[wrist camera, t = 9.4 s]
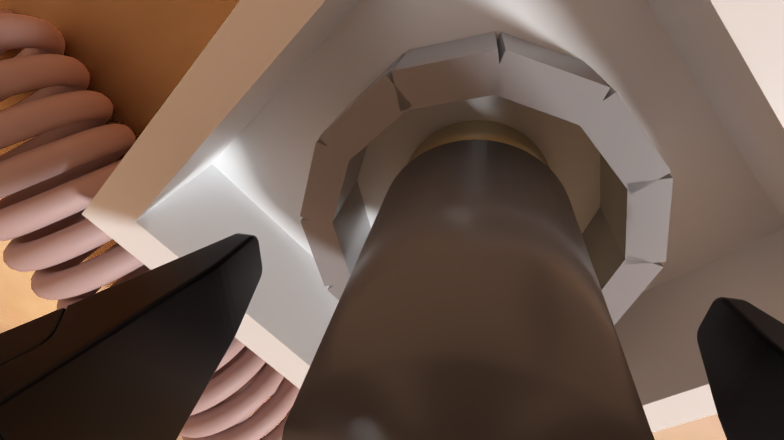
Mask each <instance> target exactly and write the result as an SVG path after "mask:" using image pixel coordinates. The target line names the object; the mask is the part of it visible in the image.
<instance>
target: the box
mask: <svg viewBox="0 0 784 440" xmlns="http://www.w3.org/2000/svg"><path fill="white" fill-rule="evenodd" d="M471 120H486V121H492V122H498V123H501V124H504V125H507V126H510V127H512V128H514V129H516V130H518V131H519V132H521V133H523V134H524V135H526V136H527V137H528V138H529V139H530V140H532V141H533V142H534V143H535V145H536V146H537V147H538V148H539V149H540V151H541V152H542V154H543V155H544V157H545V159H546V161H547V163H548V166H549V168H550V169H551V170H552V172H553V173H554V174H555V175H556V176H557V177H558V179H559V180H560V182H561V183H562V185H563V186H564V188H565V191H566V193H567V195H568V197H569V200H570V203H571V205H572V208H573V211H574V214H575V217H576V219H577V222H578V225H579V228H580V231H581V234H582V236H583V239H584V242H585V245H586V248H587V251H588V253H589V256H590V259H591V262H592V265H593V268H594V270H595V273H596V276H597V279H598V282H599V285H600V287H601V290H602V293H603V296H604V299H605V301H606V304H607V307H608V310H609V313H610V316H611V318H612V321H613V324H614V327H615V330H616V333H617V335H618V338H619V341H620V344H621V347H622V350H623V352H624V355H625V358H626V361H627V364H628V366H629V369H630V372H631V375H632V378H633V381H634V383H635V386H636V389H637V392H638V395H639V398H640V400H641V403H642V406H643V409H644V412H645V415H646V417H647V420H648V423H649V426H650V429H651V432H652V433H653V432H657V431H660V430H664V429H667V428H670V427H674V426H677V425H681V424H684V423H687V422H691V421H694V420H698V419H701V418H704V417H708V416H711V415H714V414H718V413H717V410H716V407H715V404H714V400H713V397H712V393H711V389H710V386H709V382H708V378H707V375H706V371H705V368H704V364H703V360H702V357H701V353H700V349H699V346H698V342H697V331H698V328H699V326H700V324H701V322H702V321H703V319H704V317H705V315H706V313H707V311H708V310H709V308H710V306H711V304H712V302H713V301H714V300H715V299H716V298H719V297H727V298H735V299H742V300H745V301H747V302H749V303H751V304H752V305H754V306H755V307H757V308H759V309H760V310H762V311H764V312H765V313H767V314H769V315H770V316H772V317H773V318H775V319H777V320H778V321H780V322H782V323H783V324H784V0H240V1H239V2H238V4H237V5H236V6H235V8H234V9H233V10H232V12H231V13H230V14H229V16H228V17H227V18H226V20H225V21H224V22H223V24H222V25H221V26H220V28H219V29H218V31H217V32H216V33H215V35H214V36H213V37H212V39H211V40H210V41H209V43H208V44H207V45H206V47H205V48H204V49H203V51H202V52H201V54H200V55H199V56H198V58H197V59H196V60H195V62H194V63H193V64H192V66H191V67H190V68H189V70H188V71H187V72H186V74H185V75H184V76H183V78H182V79H181V81H180V82H179V83H178V85H177V86H176V87H175V89H174V90H173V91H172V93H171V94H170V95H169V97H168V98H167V99H166V101H165V102H164V104H163V105H162V106H161V108H160V109H159V110H158V112H157V113H156V114H155V116H154V117H153V118H152V120H151V121H150V122H149V124H148V125H147V126H146V128H145V129H144V131H143V132H142V133H141V135H140V136H139V137H138V139H137V140H136V141H135V143H134V144H133V145H132V147H131V148H130V149H129V151H128V152H127V154H126V155H125V156H124V158H123V159H122V160H121V162H120V163H119V164H118V166H117V167H116V168H115V170H114V171H113V172H112V174H111V175H110V176H109V178H108V179H107V181H106V182H105V183H104V185H103V186H102V187H101V189H100V190H99V191H98V193H97V194H96V195H95V197H94V198H93V199H92V201H91V202H90V204H89V205H88V206H87V208H86V209H85V210H84V212H83V213H82V215H83V216H84V217H86V218H87V219H88V220H89V221H91V222H92V223H93V224H94V225H96V226H97V227H98V228H99V229H101V230H102V231H103V232H104V233H106V234H107V235H108V236H109V237H111V238H112V239H113V240H114V241H116V242H117V243H118V244H119V245H121V246H122V247H123V248H124V249H126V250H127V251H128V252H129V253H131V254H132V255H133V256H134V257H136V258H137V259H138V260H139V261H141V262H142V263H143V264H144V265H145V266H147V267H148V268H149V269H150V270H152V269H154V268H157V267H159V266H161V265H164V264H166V263H168V262H171V261H173V260H175V259H178V258H180V257H182V256H185V255H187V254H189V253H192V252H194V251H196V250H199V249H201V248H203V247H206V246H208V245H210V244H213V243H215V242H217V241H220V240H222V239H224V238H227V237H229V236H231V235H234V234H236V233H242V234H249V235H254V236H256V237H257V239H258V241H259V247H260V254H261V260H262V275H261V278H260V281H259V283H258V285H257V287H256V290H255V292H254V294H253V297H252V299H251V301H250V304H249V306H248V308H247V311H246V313H245V315H244V318H243V320H242V322H241V325H240V327H239V329H238V331H237V333H236V335H235V338H236V339H238V340H239V341H240V342H241V343H243V344H244V345H245V346H246V347H248V348H249V349H250V350H251V351H253V352H254V353H255V354H256V355H258V356H259V357H260V358H261V359H263V360H264V361H265V362H266V363H268V364H269V365H270V366H271V367H273V368H274V369H275V370H276V371H278V372H279V373H280V374H281V375H283V376H284V377H285V378H286V379H288V380H289V381H290V382H291V383H293V384H294V385H295V386H296V387H298V388H299V389H300V388H301V386H302V383H303V381H304V379H305V377H306V374H307V372H308V370H309V368H310V365H311V363H312V361H313V359H314V356H315V354H316V352H317V350H318V347H319V345H320V343H321V341H322V338H323V336H324V334H325V331H326V329H327V327H328V325H329V322H330V320H331V318H332V316H333V313H334V311H335V309H336V307H337V304H338V302H339V300H340V298H341V295H342V293H343V291H344V289H345V286H346V284H347V282H348V280H349V277H350V275H351V273H352V270H353V268H354V266H355V264H356V261H357V259H358V257H359V255H360V252H361V250H362V248H363V246H364V243H365V241H366V239H367V237H368V234H369V232H370V230H371V228H372V225H373V223H374V221H375V219H376V216H377V214H378V212H379V209H380V207H381V205H382V203H383V200H384V198H385V196H386V194H387V191H388V189H389V187H390V185H391V184H392V182H393V180H394V179H395V177H396V176H397V175H398V174H399V172H400V171H401V170H402V169H403V168H404V167H405V166H406V165H407V164H408V162H409V160H410V158H411V156H412V155H413V153H414V151H415V150H416V149H417V148H418V146H419V145H420V144H421V143H422V142H423V141H424V140H425V139H426V138H428V137H429V136H430V135H432V134H433V133H435V132H436V131H438V130H440V129H442V128H444V127H446V126H449V125H452V124H454V123H459V122H463V121H471Z"/></svg>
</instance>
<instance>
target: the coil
mask: <svg viewBox="0 0 784 440" xmlns="http://www.w3.org/2000/svg"><path fill="white" fill-rule="evenodd" d="M65 45H66V44H65V40H64V38H63V36H62V33H61V32H60V31H59V29H57V28H56V27H55V26H54V25H52V24H51V23H49V22H48V21H46V20H43V19H40V18H37V17H33V16H29V15H22V14H14V13H13V12H12V11H11V10H8V9H3V10H1V11H0V55H2V54H3V53H5V52H7V51H8V50H10V49H18V48H24V49H23V50H22V51H21V52H20V53H19V54H18V55H16V56H15V57H14V58H9V59H4V60H0V102H1V101H3V100H5V99H7V98H8V97H10V96H12V95H16V94H20V93H24V92H27V91H32V90H36V89H40V90H38V91H37V92H35V93H33V94H32V95H30V96H29V97H27V98H25V99H24V100H22V101H20V102H18V103H17V104H15V105H13V106H11V107H9V108H7V109H4V110H1V111H0V149H2V148H5V147H7V146H10V145H13V144H15V143H18V142H21V141H23V140H26V139H29V138H32V137H34V136H35V137H34V138H32V139H30V140H28V141H27V142H25V143H23V144H21V145H19V146H18V147H16V148H14V149H12V150H10V151H8V152H6V153H5V154H3V155H1V156H0V198H2V199H1V200H0V241H6V240H10V239H13V238H14V239H13V240H12V241H11V242H10V243H9V244H8V246H7V247H6V248H5V250H4V252H3V259H4V262H5V263H6V264H7V266H8V267H9V268H11V269H14V270H17V271H20V272H27V271H35V270H36V271H35V273H34V274H33V276H32V278H31V288H32V290H33V291H34V293H35V294H36V295H37V296H39V297H41V298H44V299H47V300H58V303H57V310H58V309H60V308H66V307H67V306H68V305H70V304H72V303H75V302H77V301H79V300H82V299H84V298H87V297H89V296H91V295H94V294H95V293H96V292H97V291H98V290H99V289H100V288H101V287H102V286H104V285H106V284H108V283H110V282H112V281H114V280H117V279H118V280H117V281H116V282H115V283H114V284H113V285H112V286H115V285H117V284H119V283H122V282H124V281H126V280H129V279H131V278H133V277H136V276H138V275H140V274H143V273H145V272H147V271H150V269H149V268H148V267H147V266H145V265H144V264H143V263H142V262H141V261H139V260H138V259H137V258H136V257H134V256H133V255H132V254H131V253H129V252H128V251H127V250H126V249H124V248H123V247H122V246H121V245H119V244H118V243H116V244H115V245H113V246H112V247H111V248H109V249H108V250H107V251H105V252H104V253H103V254H101V255H99V256H97V257H95V258H92V259H90V260H88V261H85V262H83V263H81V262H82V261H84V260H85V259H86V258H87V257H88V256H89V255H91V254H92V253H93V252H94V251H96V250H97V249H98V248H100V247H101V246H102V245H104V244H105V243H107V242H109V241H111V240H113V239H112V238H111V237H109V236H108V235H107V234H106V233H104V232H103V231H102V230H101V229H99V228H98V227H97V226H96V225H94V224H93V223H92V222H91V221H89V220H88V219H87V218H86V217H84V216H83V215H82V213H83V212H84V210H85V209H86V208H87V206H88V205H89V204H90V202H91V201H92V199H93V198H94V197H95V195H96V194H97V193H98V191H99V190H100V189H101V187H102V186H103V185H104V183H105V182H106V181H107V179H108V178H109V176H110V175H111V174H112V172H113V171H114V170H115V168H116V167H117V166H118V164H119V163H120V162H121V160H122V159H121V160H119V161H116V162H114V163H112V162H113V161H115V160H116V159H118V158H119V157H121V156H122V155H124V154H125V153H126V152H128V151H129V149H130V148H131V147H132V145H133V144H134V143H135V138H136V137H135V135H134V133H133V131H132V129H130V128H129V127H127V126H126V125H122V124H116V123H113V124H107V125H104V124H105V123H106V122H107V121H108V120H109V119H110V118H111V117H112V114H113V105H112V103H111V101H110V99H109V98H108V97H106V96H105V95H104V94H102V93H99V92H95V91H89V90H86V89H87V88H88V86H89V82H90V74H89V72H88V70H87V68H86V66H85V65H84V64H83V63H81V62H80V61H79V60H77V59H75V58H73V57H69V56H64V51H65ZM110 163H111V164H110ZM5 196H6V197H5ZM3 197H4V198H3ZM85 218H86V219H85ZM80 263H81V264H80ZM119 278H120V279H119ZM112 286H111V287H112ZM299 390H300V389H299V388H298V387H296V386H295V385H294V384H293V383H291V382H290V381H289V380H288V379H286V378H285V377H284V376H283V375H281V374H280V373H279V372H278V371H276V370H275V369H274V368H273V367H271V366H270V365H269V364H268V363H266V362H265V361H264V360H263V359H261V358H260V357H259V356H258V355H256V354H255V353H254V352H253V351H251V350H250V349H249V348H248V347H246V346H245V345H244V344H243V343H241V342H240V341H239V340H238V339H236V338H235V337H234V339H233V341H232V343H231V345H230V347H229V348H228V350H227V352H226V354H225V355H224V357H223V359H222V361H221V362H220V364H219V366H218V368H217V369H216V371H215V373H214V375H213V376H212V378H211V380H210V382H209V383H208V385H207V387H206V389H205V390H204V392H203V394H202V396H201V397H200V399H199V401H198V403H197V404H196V406H195V408H194V410H193V411H192V413H191V415H190V417H189V418H188V420H187V422H186V424H185V425H184V427H183V429H182V431H181V432H180V434H179V435H180V436H182V437H183V440H258V439H260V438H261V437H263V436H264V435H265V434H267V433H268V432H269V431H270V430H271V429H273V428H274V427H275V426H276V425H277V424H278V423H279V422H280V421H281V420H282V419H283V417H284V416H285V415H286V414H287V415H286V417H285V418H284V419H283V420H282V421H281V422H280V423H279V425H277V426H276V427H275V428H274V429H273V430H272V431H271V432H269V433H268V434H267V435H266V436H264V437H263V438H261V439H260V440H282V435H283V429H284V425H285V422H286V420H287V418H288V415H289V413H290V411H291V408H292V406H293V404H294V402H295V399H296V397H297V395H298V392H299ZM273 394H274V395H273ZM272 395H273V396H272ZM270 396H272V397H271V398H270V399H268V398H269V397H270ZM267 399H268V400H267ZM266 400H267V401H266ZM265 401H266V402H265ZM264 402H265V403H264ZM263 403H264V404H263ZM258 407H259V408H258ZM257 408H258V409H257ZM256 409H257V410H256ZM255 410H256V411H255ZM254 411H255V412H254ZM253 412H254V414H253V415H252V416H251V417H249V416H250V415H251V414H252V413H253Z"/></svg>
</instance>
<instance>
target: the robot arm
mask: <svg viewBox="0 0 784 440" xmlns="http://www.w3.org/2000/svg"><path fill="white" fill-rule="evenodd" d="M261 275H262V260H261V254H260V247H259V241H258V239H257V237H256V236H254V235H249V234H242V233H236V234H234V235H231V236H229V237H227V238H224V239H222V240H220V241H217V242H215V243H213V244H210V245H208V246H206V247H203V248H201V249H199V250H196V251H194V252H192V253H189V254H187V255H185V256H182V257H180V258H178V259H175V260H173V261H171V262H168V263H166V264H164V265H161V266H159V267H157V268H154V269H152V270H150V271H147V272H145V273H143V274H140V275H138V276H136V277H133V278H131V279H129V280H126V281H124V282H122V283H119V284H117V285H115V286H112V287H110V288H108V289H105V290H103V291H101V292H98V293H96V294H94V295H91V296H89V297H87V298H84V299H82V300H79V301H77V302H75V303H72V304H70V305H68V306H67V307H66V308H60V309H58V310H56V311H54V312H51V313H49V314H47V315H44V316H42V317H40V318H37V319H35V320H32V321H30V322H27V323H25V324H23V325H20V326H18V327H15V328H13V329H11V330H8V331H6V332H3V333H0V440H176V439H177V437H178V436H179V434H180V432H181V431H182V429H183V427H184V425H185V424H186V422H187V420H188V418H189V417H190V415H191V413H192V411H193V410H194V408H195V406H196V404H197V403H198V401H199V399H200V397H201V396H202V394H203V392H204V390H205V389H206V387H207V385H208V383H209V382H210V380H211V378H212V376H213V375H214V373H215V371H216V369H217V368H218V366H219V364H220V362H221V361H222V359H223V357H224V355H225V354H226V352H227V350H228V348H229V347H230V345H231V343H232V341H233V339H234V337H235V335H236V333H237V331H238V329H239V327H240V325H241V322H242V320H243V318H244V315H245V313H246V311H247V308H248V306H249V304H250V301H251V299H252V297H253V294H254V292H255V290H256V287H257V285H258V283H259V281H260V278H261ZM697 342H698V346H699V349H700V353H701V357H702V360H703V364H704V368H705V371H706V375H707V378H708V382H709V386H710V389H711V393H712V397H713V400H714V404H715V407H716V410H717V413H718V417H719V420H720V422H721V425H722V428H723V430H724V433H725V435H726V438H727V440H784V324H783V323H782V322H780V321H778V320H777V319H775V318H773V317H772V316H770V315H769V314H767V313H765V312H764V311H762V310H760V309H759V308H757V307H755V306H754V305H752V304H751V303H749V302H747V301H745V300H742V299H735V298H727V297H719V298H716V299H715V300H714V301H713V302H712V304H711V306H710V308H709V310H708V311H707V313H706V315H705V317H704V319H703V321H702V322H701V324H700V326H699V328H698V331H697Z"/></svg>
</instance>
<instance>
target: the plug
mask: <svg viewBox="0 0 784 440" xmlns="http://www.w3.org/2000/svg"><path fill="white" fill-rule="evenodd" d="M282 440H654V437H653V434H652V432H651V429H650V426H649V423H648V420H647V417H646V415H645V412H644V409H643V406H642V403H641V400H640V398H639V395H638V392H637V389H636V386H635V383H634V381H633V378H632V375H631V372H630V369H629V366H628V364H627V361H626V358H625V355H624V352H623V350H622V347H621V344H620V341H619V338H618V335H617V333H616V330H615V327H614V324H613V321H612V318H611V316H610V313H609V310H608V307H607V304H606V301H605V299H604V296H603V293H602V290H601V287H600V285H599V282H598V279H597V276H596V273H595V270H594V268H593V265H592V262H591V259H590V256H589V253H588V251H587V248H586V245H585V242H584V239H583V236H582V234H581V231H580V228H579V225H578V222H577V219H576V217H575V214H574V211H573V208H572V205H571V203H570V200H569V197H568V195H567V193H566V191H565V188H564V186H563V185H562V183H561V182H560V180H559V179H558V177H557V176H556V175H555V174H554V173H553V172H552V170H551V169H550V168H549V166H548V163H547V161H546V159H545V157H544V155H543V154H542V152H541V151H540V149H539V148H538V147H537V146H536V145H535V143H534V142H533V141H532V140H530V139H529V138H528V137H527V136H526V135H524V134H523V133H521V132H519V131H518V130H516V129H514V128H512V127H510V126H507V125H504V124H501V123H498V122H492V121H486V120H471V121H463V122H459V123H454V124H452V125H449V126H446V127H444V128H442V129H440V130H438V131H436V132H435V133H433V134H432V135H430V136H429V137H428V138H426V139H425V140H424V141H423V142H422V143H421V144H420V145H419V146H418V148H417V149H416V150H415V151H414V153H413V155H412V156H411V158H410V160H409V162H408V164H407V165H406V166H405V167H404V168H403V169H402V170H401V171H400V172H399V174H398V175H397V176H396V177H395V179H394V180H393V182H392V184H391V185H390V187H389V189H388V191H387V194H386V196H385V198H384V200H383V203H382V205H381V207H380V209H379V212H378V214H377V216H376V219H375V221H374V223H373V225H372V228H371V230H370V232H369V234H368V237H367V239H366V241H365V243H364V246H363V248H362V250H361V252H360V255H359V257H358V259H357V261H356V264H355V266H354V268H353V270H352V273H351V275H350V277H349V280H348V282H347V284H346V286H345V289H344V291H343V293H342V295H341V298H340V300H339V302H338V304H337V307H336V309H335V311H334V313H333V316H332V318H331V320H330V322H329V325H328V327H327V329H326V331H325V334H324V336H323V338H322V341H321V343H320V345H319V347H318V350H317V352H316V354H315V356H314V359H313V361H312V363H311V365H310V368H309V370H308V372H307V374H306V377H305V379H304V381H303V383H302V386H301V388H300V390H299V392H298V395H297V397H296V399H295V402H294V404H293V406H292V408H291V411H290V413H289V415H288V418H287V420H286V422H285V425H284V429H283V435H282Z"/></svg>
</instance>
